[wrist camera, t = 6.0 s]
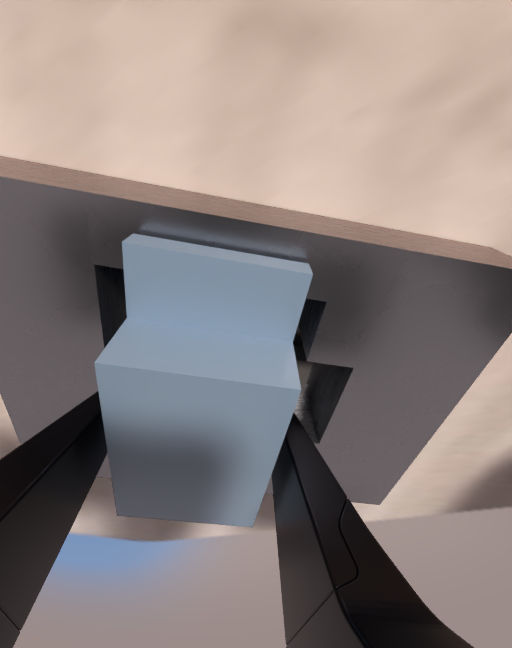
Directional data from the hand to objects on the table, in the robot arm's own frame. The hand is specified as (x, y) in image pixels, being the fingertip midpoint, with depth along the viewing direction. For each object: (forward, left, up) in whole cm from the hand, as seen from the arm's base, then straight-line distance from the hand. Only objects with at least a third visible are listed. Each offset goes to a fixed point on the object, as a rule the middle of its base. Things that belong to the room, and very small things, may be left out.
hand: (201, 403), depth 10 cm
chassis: (0, 0, -3) cm, 3 cm away
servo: (0, 0, -3) cm, 3 cm away
